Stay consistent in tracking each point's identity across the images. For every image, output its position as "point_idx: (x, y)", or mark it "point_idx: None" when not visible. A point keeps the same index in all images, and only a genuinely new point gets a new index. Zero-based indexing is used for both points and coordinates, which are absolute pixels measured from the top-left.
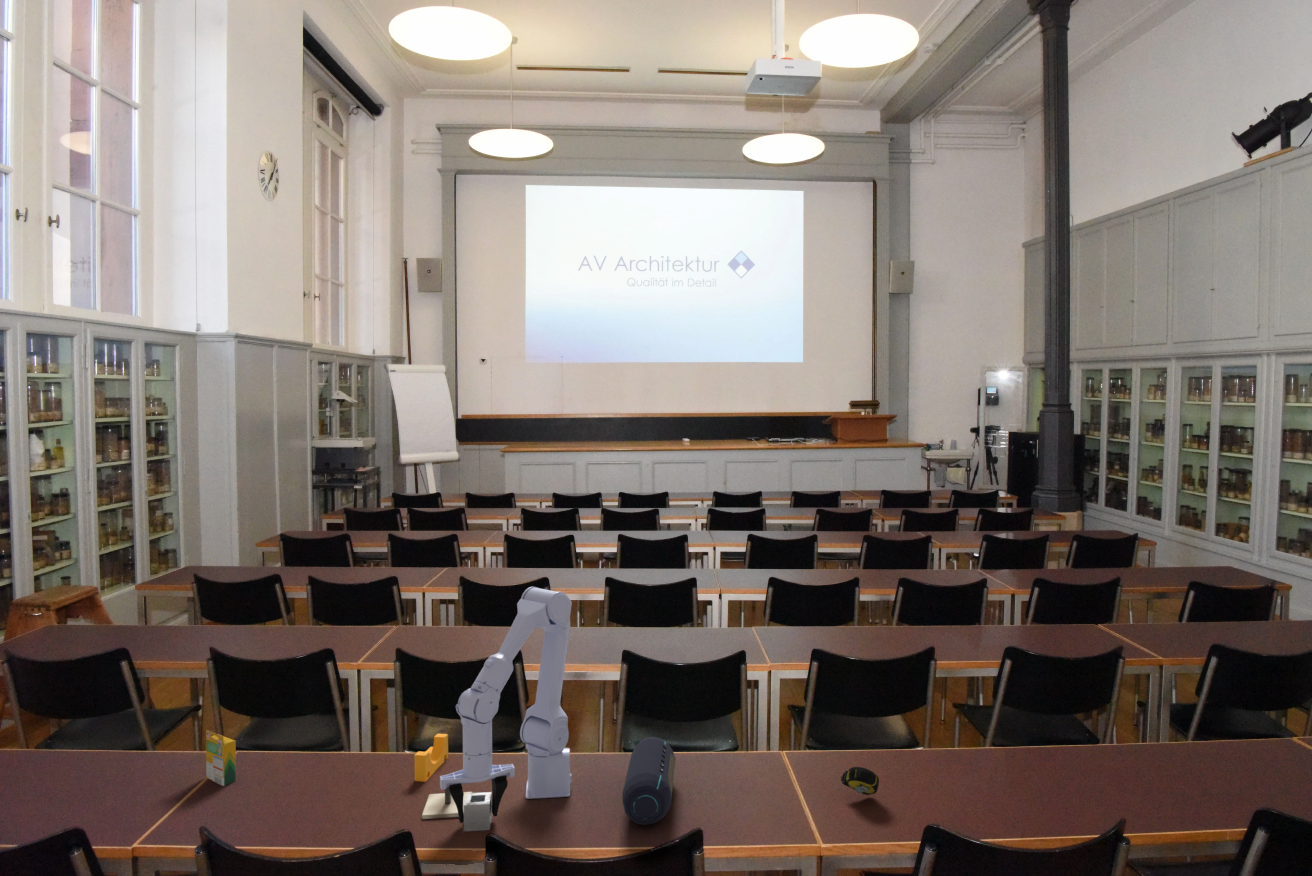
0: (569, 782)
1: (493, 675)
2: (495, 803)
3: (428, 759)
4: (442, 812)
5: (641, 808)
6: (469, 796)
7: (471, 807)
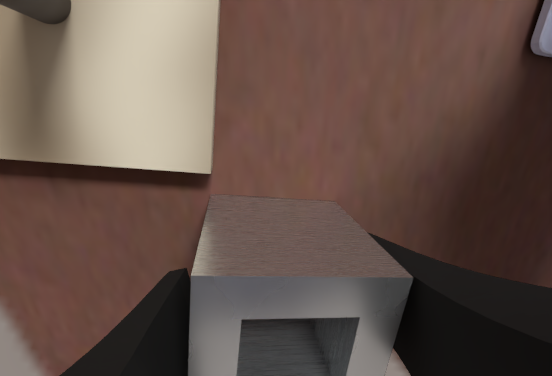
0: None
1: None
2: (398, 350)
3: None
4: (41, 144)
5: None
6: (223, 330)
7: None
